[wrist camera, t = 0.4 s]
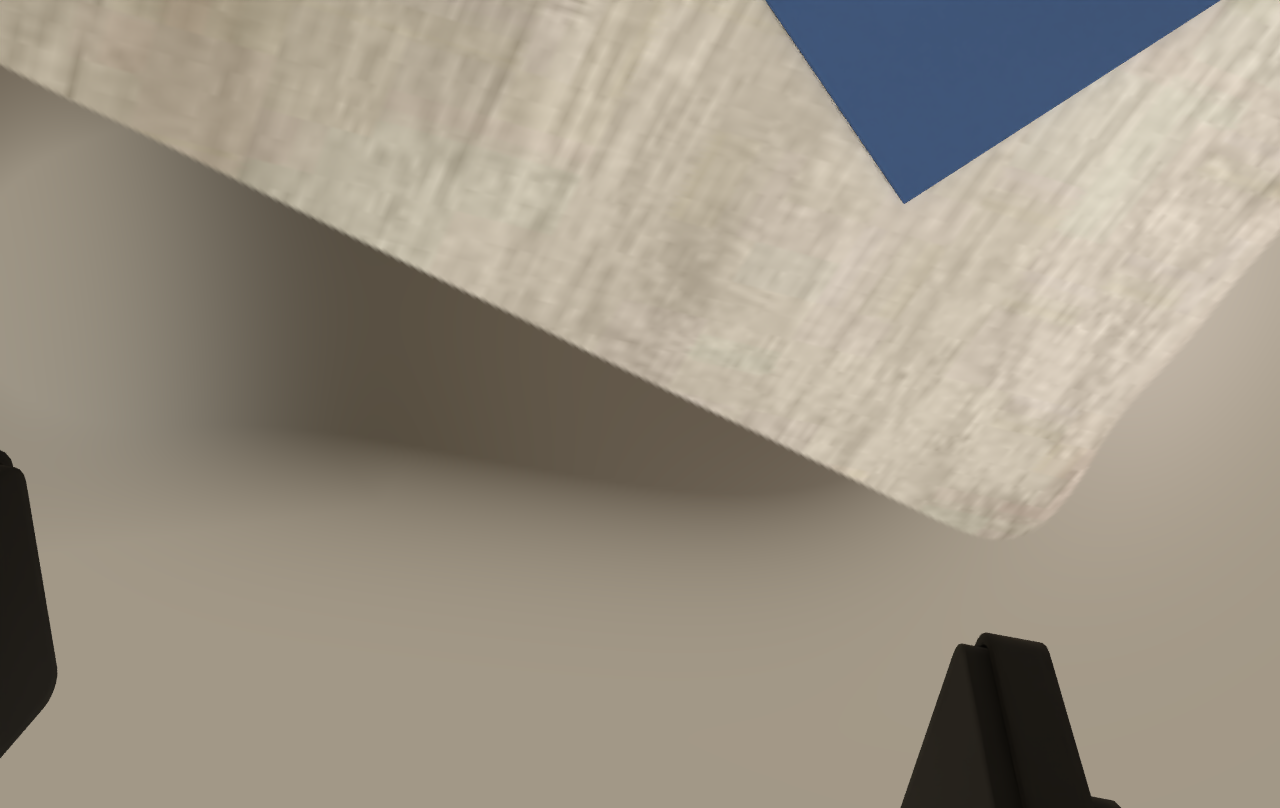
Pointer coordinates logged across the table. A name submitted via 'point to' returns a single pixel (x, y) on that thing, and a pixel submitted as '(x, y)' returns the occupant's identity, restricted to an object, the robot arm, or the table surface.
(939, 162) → the folder
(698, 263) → the table surface
